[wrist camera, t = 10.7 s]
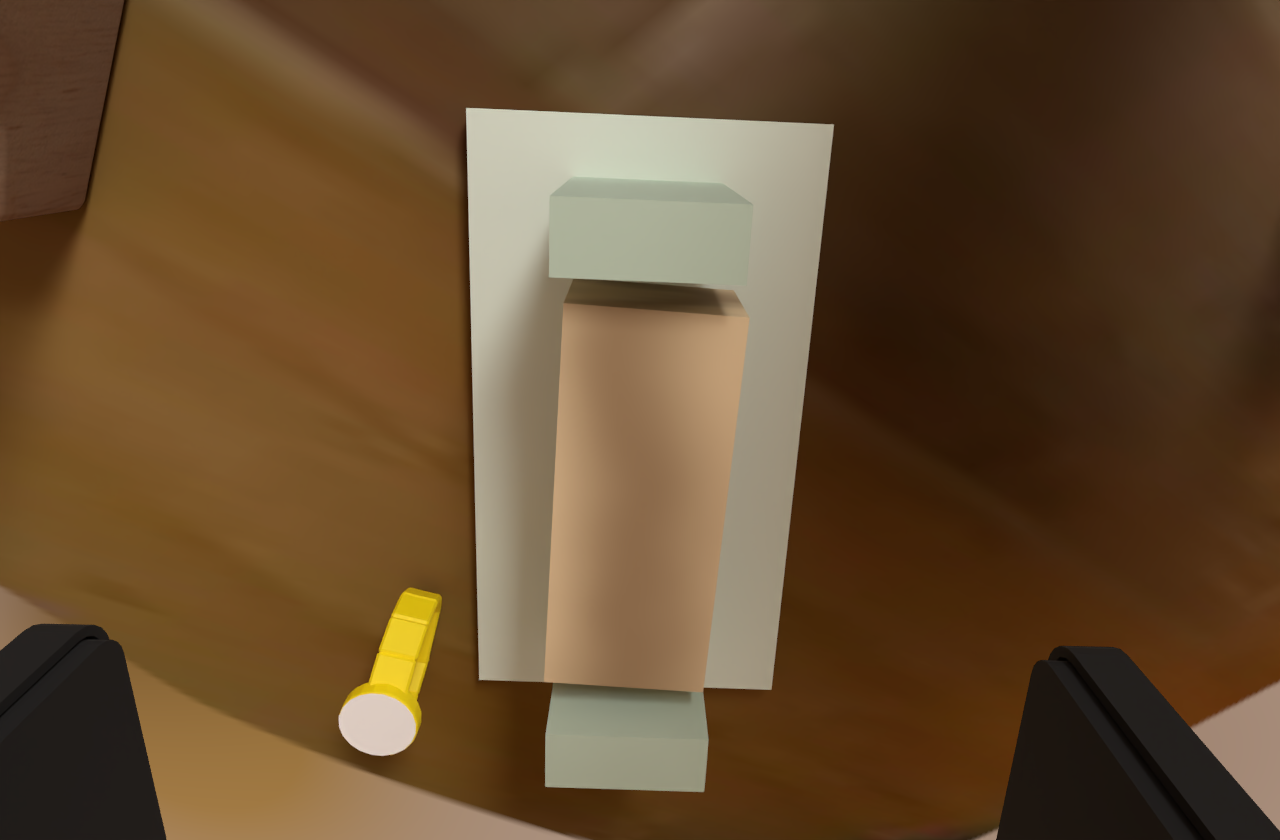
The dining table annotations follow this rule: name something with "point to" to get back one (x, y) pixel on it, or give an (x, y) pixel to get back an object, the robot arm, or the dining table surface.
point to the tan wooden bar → (641, 481)
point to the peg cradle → (530, 371)
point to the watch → (394, 679)
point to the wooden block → (51, 100)
